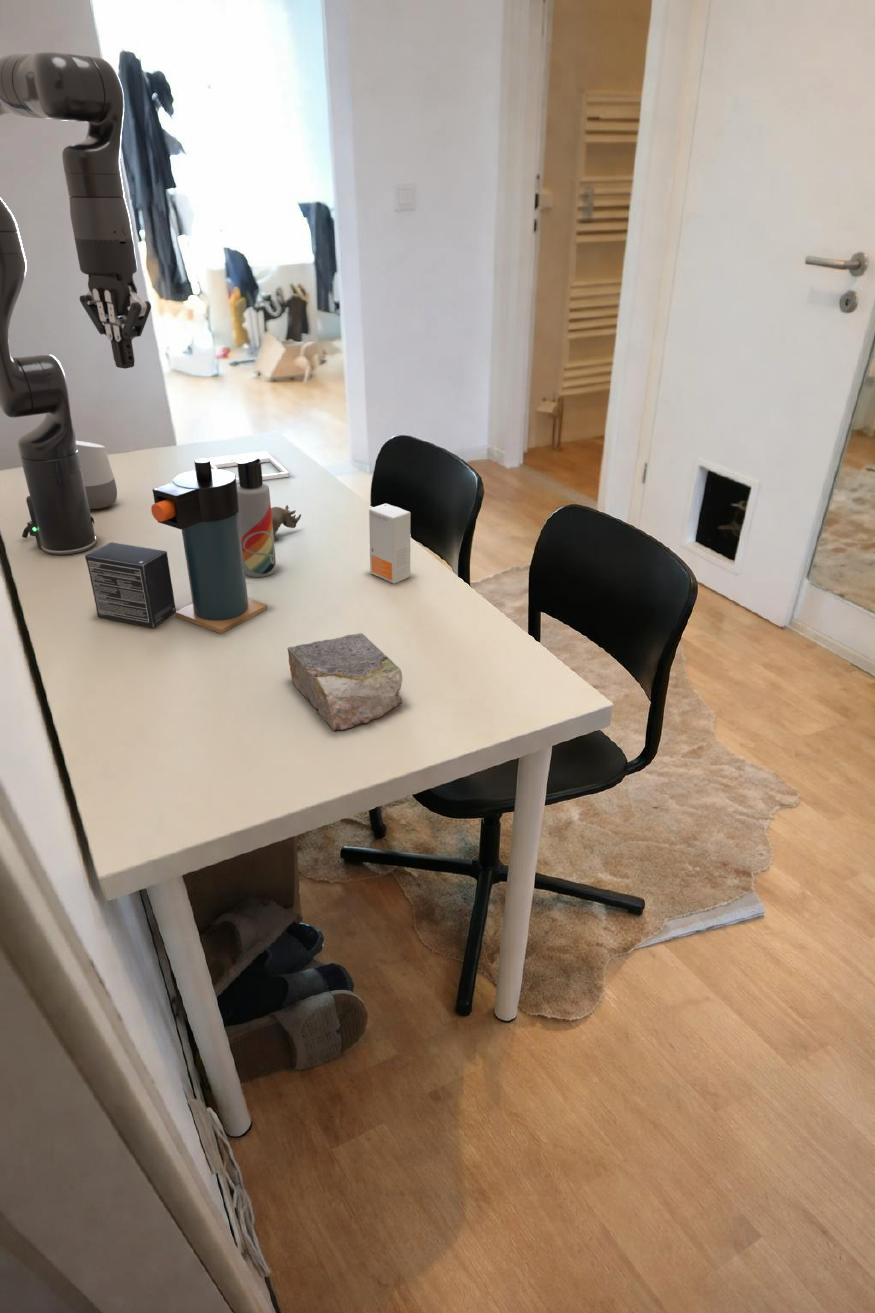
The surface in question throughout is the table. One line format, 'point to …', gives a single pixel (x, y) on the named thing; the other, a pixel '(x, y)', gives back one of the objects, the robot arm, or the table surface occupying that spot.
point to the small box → (131, 584)
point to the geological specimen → (346, 679)
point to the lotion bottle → (255, 519)
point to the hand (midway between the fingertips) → (125, 367)
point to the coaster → (221, 625)
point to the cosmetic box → (389, 542)
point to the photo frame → (233, 459)
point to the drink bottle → (209, 538)
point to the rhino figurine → (283, 519)
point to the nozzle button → (163, 510)
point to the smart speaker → (97, 475)
